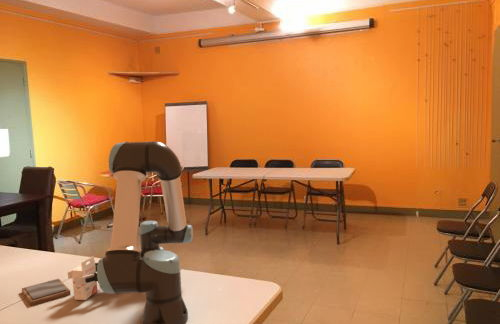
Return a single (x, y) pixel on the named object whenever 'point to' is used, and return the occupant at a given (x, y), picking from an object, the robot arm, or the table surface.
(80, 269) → the ink cartridge box
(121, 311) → the table surface
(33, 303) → the walnut stand
